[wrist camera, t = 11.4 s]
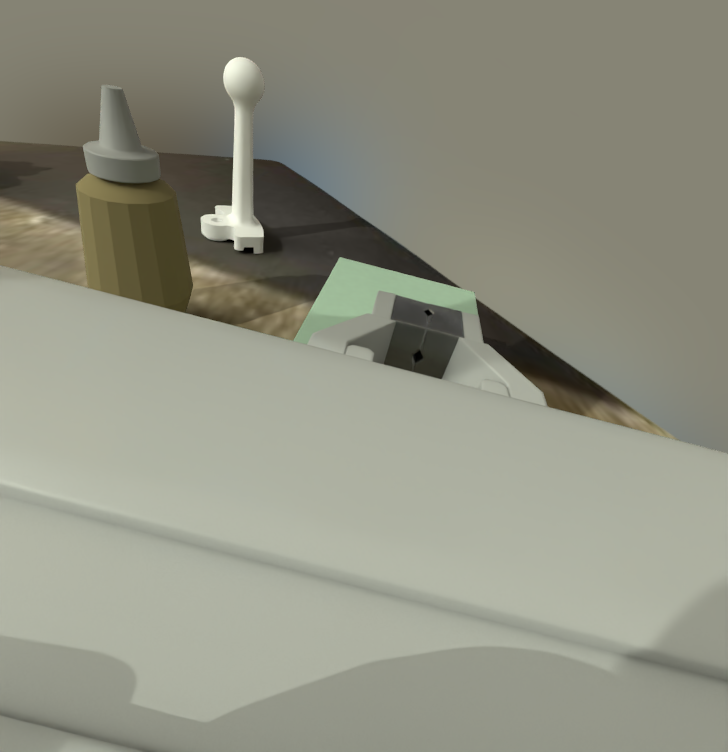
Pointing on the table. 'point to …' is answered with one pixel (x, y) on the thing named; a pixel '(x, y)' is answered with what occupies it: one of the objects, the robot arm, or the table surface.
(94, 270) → the squeeze bottle
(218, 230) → the joystick
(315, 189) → the table surface
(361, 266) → the green box lid
